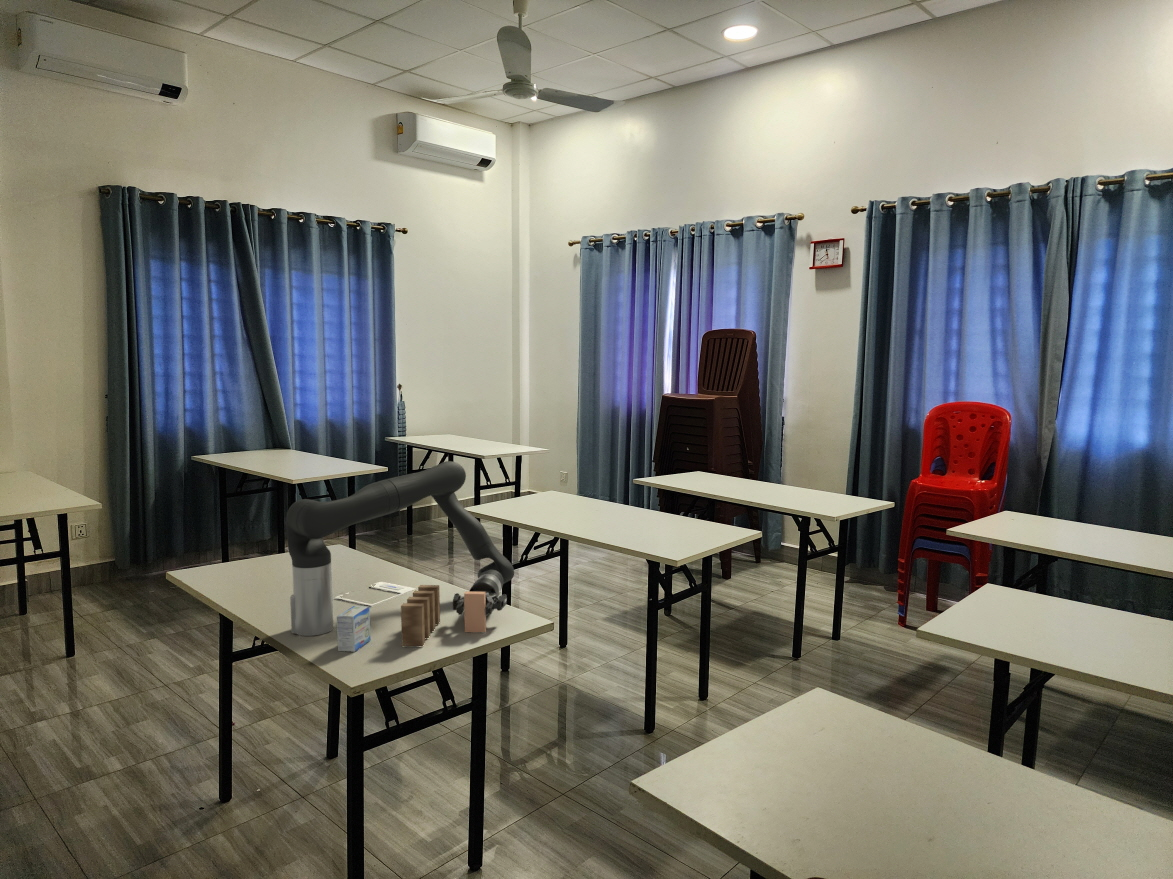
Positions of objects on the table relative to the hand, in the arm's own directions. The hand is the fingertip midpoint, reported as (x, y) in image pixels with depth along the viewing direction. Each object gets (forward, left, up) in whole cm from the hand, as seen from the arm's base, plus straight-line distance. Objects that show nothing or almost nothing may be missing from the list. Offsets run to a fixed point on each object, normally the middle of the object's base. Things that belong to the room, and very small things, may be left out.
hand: (473, 611), depth 185 cm
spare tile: (0, +2, -6) cm, 6 cm away
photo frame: (-35, +31, -7) cm, 47 cm away
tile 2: (-13, +7, -6) cm, 16 cm away
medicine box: (-27, -9, -6) cm, 29 cm away
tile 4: (-13, -3, -6) cm, 15 cm away
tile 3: (-13, +2, -6) cm, 15 cm away
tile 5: (-13, -8, -6) cm, 16 cm away
